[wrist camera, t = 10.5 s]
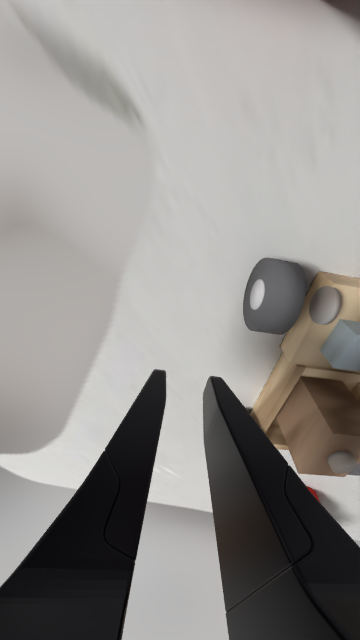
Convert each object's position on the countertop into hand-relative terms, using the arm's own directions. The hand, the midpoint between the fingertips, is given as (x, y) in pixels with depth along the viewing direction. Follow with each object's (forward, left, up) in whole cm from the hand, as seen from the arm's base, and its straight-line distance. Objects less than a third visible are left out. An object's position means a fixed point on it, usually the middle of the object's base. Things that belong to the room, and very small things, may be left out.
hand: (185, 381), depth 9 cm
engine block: (-16, +12, -11) cm, 22 cm away
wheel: (-6, 0, -11) cm, 13 cm away
